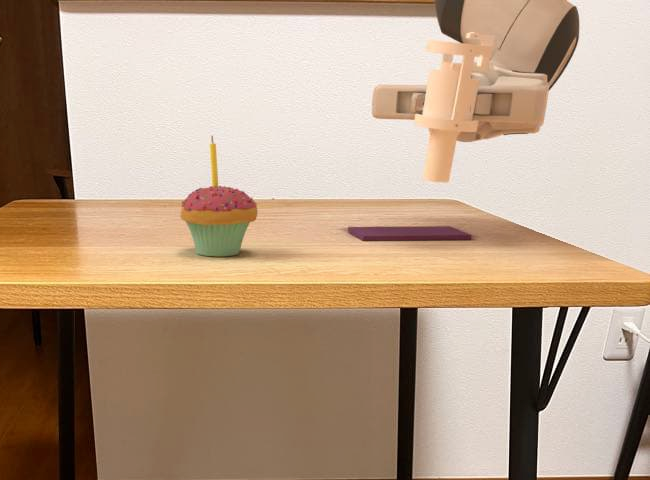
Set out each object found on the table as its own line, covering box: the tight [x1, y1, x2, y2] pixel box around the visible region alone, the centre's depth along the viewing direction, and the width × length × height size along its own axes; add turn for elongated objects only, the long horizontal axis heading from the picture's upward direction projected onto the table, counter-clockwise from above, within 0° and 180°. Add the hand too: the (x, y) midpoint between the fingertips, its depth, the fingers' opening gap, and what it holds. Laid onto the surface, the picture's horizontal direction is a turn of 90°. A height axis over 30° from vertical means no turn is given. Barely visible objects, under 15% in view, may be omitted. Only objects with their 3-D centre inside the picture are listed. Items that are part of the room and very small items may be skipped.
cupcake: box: [180, 135, 258, 258], centre depth 96 cm, size 9×8×12 cm
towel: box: [347, 225, 472, 242], centre depth 113 cm, size 14×8×1 cm, turn 98°
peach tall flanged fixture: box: [413, 32, 495, 183], centre depth 98 cm, size 7×7×15 cm
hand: (441, 103), depth 97 cm, fingers closed on peach tall flanged fixture, 4 cm apart
